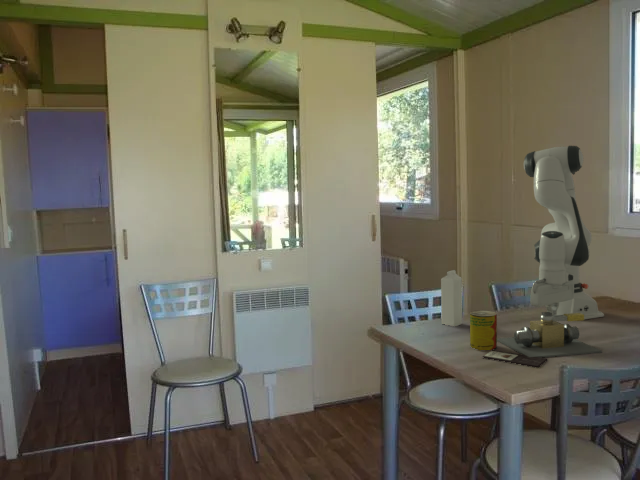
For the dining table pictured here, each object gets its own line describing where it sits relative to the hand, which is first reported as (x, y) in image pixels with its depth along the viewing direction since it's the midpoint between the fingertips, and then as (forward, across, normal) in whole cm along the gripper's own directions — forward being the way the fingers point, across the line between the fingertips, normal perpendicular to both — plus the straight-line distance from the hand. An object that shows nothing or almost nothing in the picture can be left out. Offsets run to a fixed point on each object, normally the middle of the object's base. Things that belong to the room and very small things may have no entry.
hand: (552, 315), depth 207 cm
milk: (+9, -11, +39) cm, 41 cm away
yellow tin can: (+9, -25, +9) cm, 28 cm away
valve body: (+9, -8, -4) cm, 13 cm away
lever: (0, -3, -6) cm, 7 cm away
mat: (+9, -8, -4) cm, 13 cm away
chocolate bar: (+10, -28, -6) cm, 31 cm away
